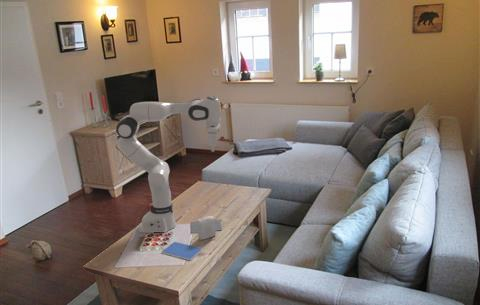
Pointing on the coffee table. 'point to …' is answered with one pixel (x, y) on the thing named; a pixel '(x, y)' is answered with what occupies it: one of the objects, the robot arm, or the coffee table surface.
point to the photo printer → (206, 227)
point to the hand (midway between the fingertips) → (213, 148)
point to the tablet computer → (182, 250)
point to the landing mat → (195, 226)
